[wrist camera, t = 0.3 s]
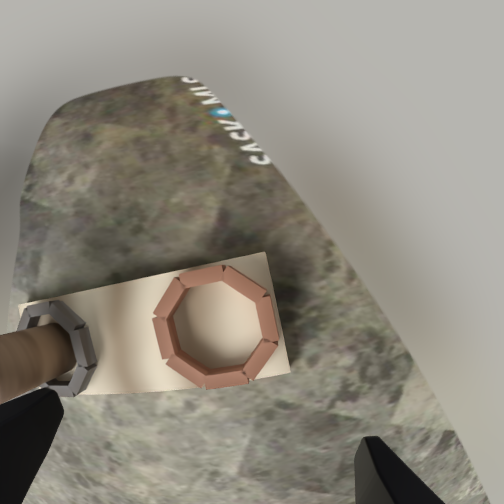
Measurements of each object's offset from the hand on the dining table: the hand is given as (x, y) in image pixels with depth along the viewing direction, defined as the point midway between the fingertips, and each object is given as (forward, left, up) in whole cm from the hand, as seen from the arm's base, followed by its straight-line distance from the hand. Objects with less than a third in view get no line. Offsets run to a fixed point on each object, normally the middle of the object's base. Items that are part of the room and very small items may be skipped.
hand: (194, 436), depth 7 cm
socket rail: (-7, +5, -15) cm, 18 cm away
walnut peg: (-14, +9, -14) cm, 21 cm away
